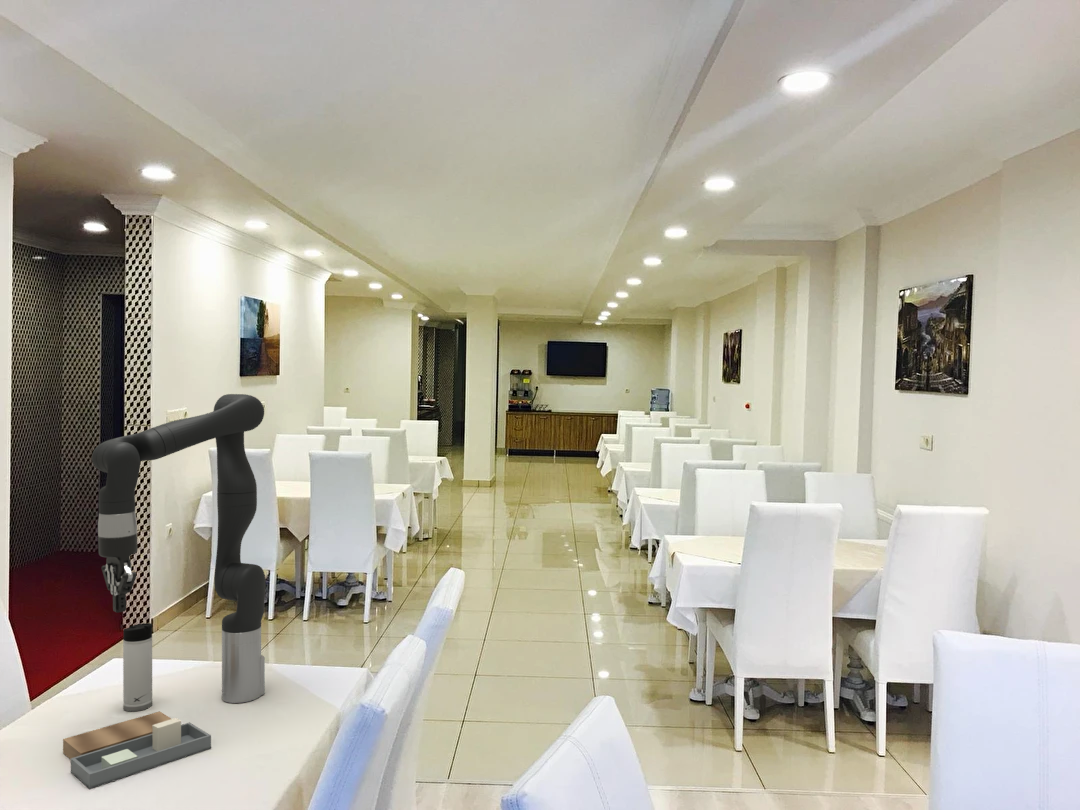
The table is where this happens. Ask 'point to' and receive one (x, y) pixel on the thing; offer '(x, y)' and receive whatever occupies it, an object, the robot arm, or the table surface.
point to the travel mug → (137, 667)
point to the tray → (94, 775)
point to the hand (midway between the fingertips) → (119, 611)
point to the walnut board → (111, 735)
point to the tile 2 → (166, 734)
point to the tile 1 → (117, 758)
